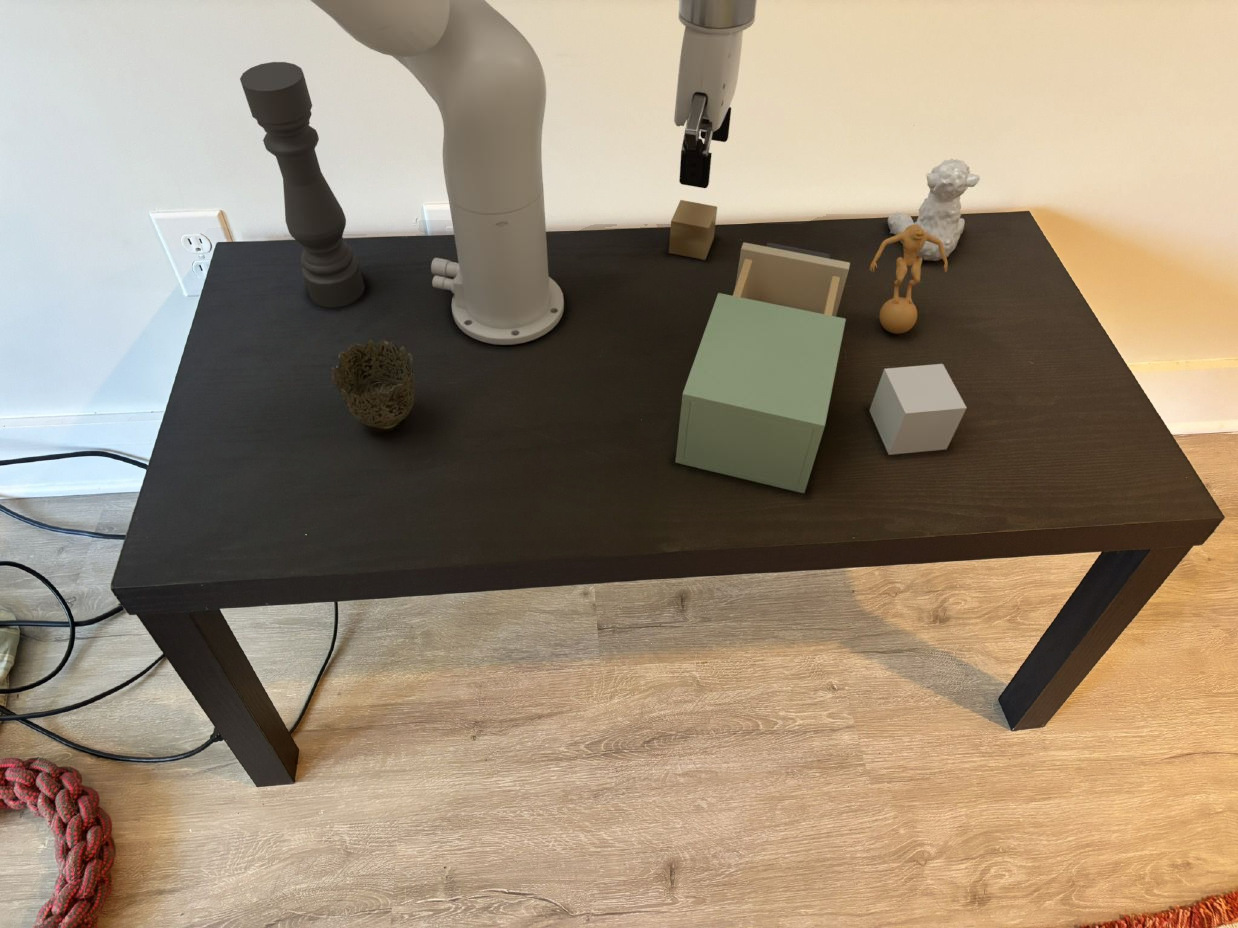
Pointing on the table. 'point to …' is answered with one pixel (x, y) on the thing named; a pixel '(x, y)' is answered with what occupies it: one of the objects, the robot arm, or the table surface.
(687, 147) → the robot arm
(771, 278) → the drawer
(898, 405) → the white cube
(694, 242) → the block
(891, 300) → the figurine
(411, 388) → the cup
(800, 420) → the cabinet
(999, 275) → the table surface
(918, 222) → the white creature statuette
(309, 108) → the candle holder
